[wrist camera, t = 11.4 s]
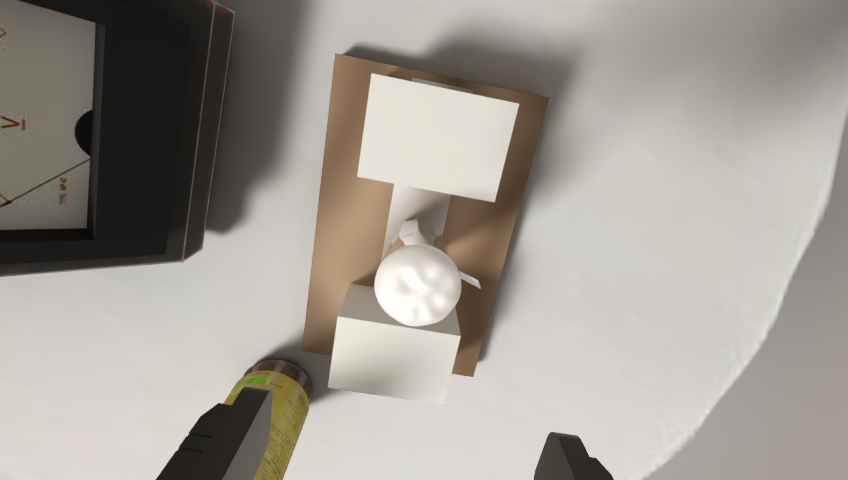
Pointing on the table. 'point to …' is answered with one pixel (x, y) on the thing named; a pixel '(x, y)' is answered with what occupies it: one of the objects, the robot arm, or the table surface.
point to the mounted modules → (431, 170)
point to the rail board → (409, 209)
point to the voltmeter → (108, 130)
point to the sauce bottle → (279, 411)
